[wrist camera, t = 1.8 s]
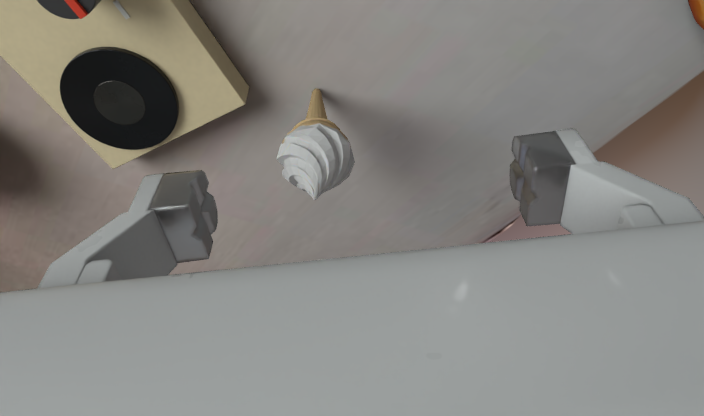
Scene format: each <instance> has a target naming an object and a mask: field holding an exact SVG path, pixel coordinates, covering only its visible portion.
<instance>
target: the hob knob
mask: <svg viewBox="0 0 704 416" xmlns="http://www.w3.org/2000/svg"><path fill="white" fill-rule="evenodd" d="M37 1H38V3H39V4H40V5H41V6H42V7H44V8H45V9H46V10H47V11H49V12H50V13H52V14H54V15H56V16H58V17H61V18H65V19H82V18H84V17H85V16H87V15H88V14H89V13H90V12H91V11H92V10H93V9H94V8H95V7H96V6H97V5H98V4H99V2H100V1H101V0H37Z"/></svg>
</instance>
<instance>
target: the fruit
mask: <svg viewBox="0 0 704 416" xmlns="http://www.w3.org/2000/svg"><path fill="white" fill-rule="evenodd" d="M688 2H689V6H690V8H691V11H692V14H693V16H694V19H695V20H696V22H697V23H698V25H699V26H700V27H702V28H703V29H704V0H688Z"/></svg>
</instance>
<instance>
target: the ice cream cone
mask: <svg viewBox="0 0 704 416" xmlns="http://www.w3.org/2000/svg"><path fill="white" fill-rule="evenodd" d="M277 160H278V161H279V162H280V163H281V164H282V165H283V166H284V170H283V171H282V173H283V177H284V178H286V179H287V180H288V181H289V182H290V183H292V184H293V185H295V186H296V187H298V188H300V189H302V190H303V191H306V192H308V194H309V195H310V196H311V197H312V198H313V199H314V200H316V199H317V198H318V197H319V196H320V195H321V194H322V193H324V192H326V191H328V190H330V189H332V188H334V187H336V186H338V185H339V184H341V183H342V182H343V181H344V180H345V179H347V178H348V177H349V175H350V173H351V170H352V168H353V165H354V163H355V161H354V157H353V154H352V150H351V146H350V143H349V141H348V139H347V137H346V136H345V135H344V134H343V133H342V132H341V131H340V129H339V128H338V127H337V126H336V125H335V124H334V123H333V122H331V121H329V120H327V116H326V112H325V108H324V103H323V100H322V94H321V91H320V90H319V89H314V90H313V92H312V96H311V101H310V104H309V109H308V113H307V116H306V119H305V120H302V121H301V122H300V123H298V124H297V125H296V126H295V127H294V128H293V130H292V131H290V132H289V133H288V134H287V136H285V138H284V140H283V142H282V144H281V145H280V149H279V152H278V156H277Z"/></svg>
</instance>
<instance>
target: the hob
mask: <svg viewBox="0 0 704 416" xmlns="http://www.w3.org/2000/svg"><path fill="white" fill-rule="evenodd" d="M96 47H118V48H122V49H126V50H129V51H132V52H135V53H137V54H139V55H141V56H143V57H145V58H147V59H148V60H150V61H151V62H152V63H154V64H155V65H156V66H157V67H158V68H160V69H161V70H162V71H163V73H164V74H165V75H166V76H167V77H168V79H169V80H170V82H171V83H172V85H173V87H174V89H175V91H176V94H177V97H178V101H179V116H178V120H177V123H176V125H175V128H174V130H173V131H172V133H171V134H170V135H169V136H168V137H167V138H166V139H165V140H164V141H163V142H161V143H159V144H157V145H155V146H153V147H150V148H146V149H140V150H127V149H120V148H115V147H112V146H109V145H106V144H103V143H101V142H99V141H97V140H95V139H94V138H92V137H90V136H89V135H88V134H86V133H85V132H84V131H82V130H81V129H80V128H79V127H78V126H77V125H76V124H75V123H74V121H73V120H72V119H71V118H70V116H69V115H68V113H67V111H66V109H65V108H64V105H63V103H62V99H61V95H60V80H61V76H62V73H63V71H64V69H65V67H66V66H67V65H68V63H69V62H70V61H71V60H72V59H73V58H74V57H75V56H77V55H78V54H79V53H81V52H83V51H85V50H88V49H91V48H96ZM0 56H1V57H2V58H3V59H4V60H5V61H6V62H7V63H8V64H9V65H10V66H11V67H12V68H13V69H14V70H15V71H16V72H17V73H18V74H19V75H20V76H21V77H22V78H23V79H24V80H25V81H26V82H27V83H28V84H29V85H30V86H31V87H32V88H33V89H34V90H35V91H36V92H37V93H38V94H39V95H40V96H41V97H42V98H43V99H44V100H45V101H46V102H47V103H48V104H49V105H50V106H51V107H52V108H53V109H54V110H55V111H56V112H57V113H58V114H59V115H60V116H61V117H62V118H63V119H64V120H65V121H66V122H67V123H68V124H69V125H70V126H71V127H72V128H73V129H74V130H75V131H76V132H77V133H78V134H79V135H80V136H81V138H82V139H83V140H84V141H85V142H86V143H87V144H88V145H89V146H90V147H91V148H92V149H93V150H94V151H95V152H96V153H97V154H98V155H99V156H100V157H101V158H102V159H103V160H104V161H105V162H106V163H107V164H108V165H109V166H110V167H111V168H112V169H115V168H117V167H119V166H121V165H123V164H125V163H127V162H129V161H131V160H133V159H135V158H137V157H139V156H141V155H143V154H145V153H147V152H149V151H151V150H153V149H155V148H157V147H160V146H162V145H164V144H166V143H168V142H170V141H172V140H174V139H176V138H178V137H180V136H182V135H184V134H186V133H188V132H190V131H192V130H194V129H196V128H198V127H200V126H202V125H204V124H206V123H208V122H210V121H212V120H214V119H217V118H219V117H221V116H223V115H225V114H227V113H229V112H231V111H233V110H235V109H237V108H239V107H241V106H243V105H245V103H246V99H247V95H248V90H249V86H248V85H247V83H246V82H245V81H244V79H243V78H242V76H241V75H240V73H239V72H238V70H237V69H236V68H235V66H234V65H233V63H232V62H231V60H230V59H229V58H228V56H227V55H226V53H225V52H224V50H223V49H222V47H221V46H220V45H219V43H218V42H217V40H216V39H215V37H214V36H213V35H212V33H211V32H210V30H209V29H208V27H207V26H206V24H205V23H204V22H203V20H202V19H201V17H200V16H199V14H198V13H197V12H196V10H195V9H194V7H193V6H192V4H191V3H190V1H189V0H101V1H100V2H99V4H98V5H97V6H96V7H95V8H94V9H93V10H92V11H91V12H90V13H89V14H88V15H87V16H85V17H84V18H82V19H65V18H61V17H58V16H56V15H54V14H52V13H50V12H49V11H47V10H46V9H45V8H44V7H42V6H41V5H40V4H39V3H38V1H37V0H0Z"/></svg>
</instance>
